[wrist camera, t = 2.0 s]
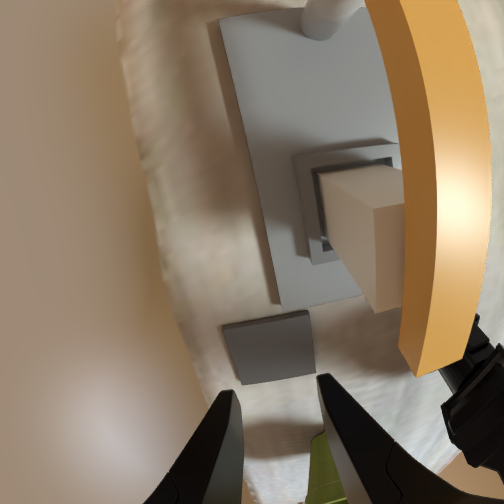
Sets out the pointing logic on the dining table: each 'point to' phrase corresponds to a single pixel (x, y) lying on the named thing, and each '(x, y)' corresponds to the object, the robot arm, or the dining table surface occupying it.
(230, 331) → the rubber pad
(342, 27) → the socket board
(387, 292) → the plug
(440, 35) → the bar
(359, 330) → the dining table surface
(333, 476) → the plant pot
